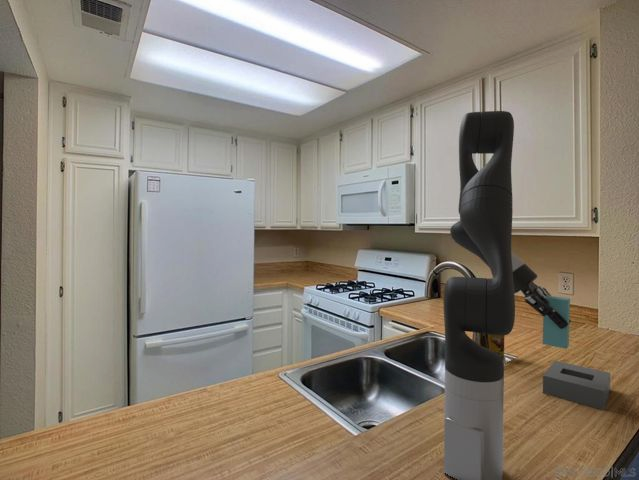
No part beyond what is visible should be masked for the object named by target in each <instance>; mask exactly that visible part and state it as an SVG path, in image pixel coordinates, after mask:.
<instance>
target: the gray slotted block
mask: <svg viewBox="0 0 639 480" xmlns="http://www.w3.org/2000/svg"><path fill="white" fill-rule="evenodd" d="M610 391H611V372H608V371H603V370H600V369H595V368H591V367H586V366H581V365H577V364H572V363H568V362H563V361H558V360H553V362H552V363H551V365H550V366H549V367H548V368H547V370H546V371H545V372H544V374H543V375H542V394H545V395H549V396H552V397H556V398H560V399H563V400H566V401H569V402H572V403H573V402H574V403H577V404H581V405H584V406H587V407H591V408H594V409H598V410H601V411H605V408H606V405H607V402H608V398H609V394H610Z"/></svg>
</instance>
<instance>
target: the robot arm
mask: <svg viewBox="0 0 639 480" xmlns="http://www.w3.org/2000/svg"><path fill="white" fill-rule="evenodd" d="M458 134H459V135H458V166H459V170H458V171H459V183H460V184H459V186H460V187H459V191H460V192H459V198H458V199H459V201H458V214H459V219H460V220H458V221H457V222H455V223H453V225H452V226H451V227H450V229H449V231H450V232H449V233H450V236H451V239H453V241H454V242H455V243H456V244H458V245H459V246H460V247H462V248H464V249H465V250H467V251H469V252H470V253H471V254H474V255H475V256H477V257H478V258H479V259H481V261H482V262H483V263H484V264H486V266H488V268H489V269H490V272H491V275H492V278H488V277H487V278H486V277H471V276H470V277H469V276H451V277H449V278H448V279H447V281H446V282H445V284H444V288H443V296H442V297H443V301H442V302H443V319H444V321H443V324H444V411H443V412H444V414H443V415H444V418H443V419H444V421H443V422H444V424H443V427H444V428H443V429H444V434H443V473H444V474H445V473H446V474H445V475H447V474H448V475H447V476H449V477H450V476H451V477H450V478H452V477H453V478H452V479H454V478H455V479H454V480H456V479H457V480H503V478H502V477H504V398H505V397H504V395H505V394H504V392H505V391H504V388H505V387H504V386H505V384H504V383H505V381H504V380H505V363H503V360H502V358H501V357H500V356H499V355H498V354H496V353H495V352H493V351H491V350H489V349H487V348H485V347H483V345H481V344H479V343H478V342H476V341H475V340H473V339H472V338H470V337H469V335H467V333H466V332H468V333H469V332H470V333H477V334H483V335H484V334H486V333H487V334H492V335H504V336H508V335H509V334H510V333H511V332H513V329H514V326H515V319H516V299H515V298H516V297H515V294H517V293H519V292H520V291H521V293H522V294H523V296H524V302H525V304H527V305H529V306H530V307H531V308H533V309H534V310H535V311H536V312H537V313H538V314H540V315H541V316H546V317H549V318H550V319H551V320H552V321H553V322H554V323H555V324H556V325H557V326H558V327H559V328H560V329H563V328H565V327H566V326H568V322H567V321H566V320H565V319H564V318H563V317H562V316H561V315H560V314H559V313H558V312H556V310H555V309H554V308H553V307H552V306H551V305H550V301H549V300H548V299H547V298H546V296H552V295H551V294H550V292H549V291H548V290H547V289H546V288H545V287H543V286H541V285H539V286H538V285H537V284H536V283H534V281H535V280H536V279H538V275H537V273H535V272H534V270H532V269H531V267H529V266H528V265H527V264H526V263H525V261H523V260H522V259H521V258H520V257H519V256H517V255H516V254H515V253H514V252H512V237H513V235H512V234H513V233H512V232H513V231H512V230H513V185H512V183H513V182H512V181H513V180H512V159H513V147H514V137H515V136H514V134H515V121H514V117H513V114H512V113H511V112H510V111H506V110H488V111H485V110H484V111H474V112H473V111H472V112H467V113H465V114H464V115H463V117H462V119H461V122H460V127H459V133H458ZM474 154H478V155H479V154H484V155H486V154H492V156H491V158H489V160H488V162H487V163H486V164H485V165H484V166H483V167H482V168H480V170H479V169H478V168H477V166H476V164H475V162H474V158H473V155H474ZM544 307H545V308H546V309H544ZM571 321H572V320H571V318H569V324H570V323H571Z"/></svg>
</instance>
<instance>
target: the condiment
mask: <svg viewBox="0 0 639 480" xmlns="http://www.w3.org/2000/svg"><path fill="white" fill-rule="evenodd" d="M488 340H489V349H490V350H491V351H493V352H495V353H496V354H498V355H499V356H500V357H501V358H502V360H503V363H504V364H505V363H506V355H505V335H492V334H488Z"/></svg>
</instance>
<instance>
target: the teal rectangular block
mask: <svg viewBox="0 0 639 480" xmlns="http://www.w3.org/2000/svg"><path fill="white" fill-rule="evenodd" d="M546 298H547V299H548V300H549V301H550V305H551V306H552V307H553V308H554V309H555V310H556V312H558V313H559V314H560V315H561V316H562V317H563V318H564V319H565V320H566V321H567V322H568V326H566V327H565V328H563V329H560V328H559V327H558V326H557V325H556V324H555V323H554V322H553V321H552V320H551V319H550V318H549V317H546V316H543V317H542V345H544V346H545V345H547V346H550V347H555V348H559V349H565V350H567V349H568V348H569V344H570V323H569V319H571V318H570V316H571V315H570V314H571V313H570V310H571V298H570V297H561V296H553V295H551V296H546ZM543 309H546V308H545V307H544V308H543Z"/></svg>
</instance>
